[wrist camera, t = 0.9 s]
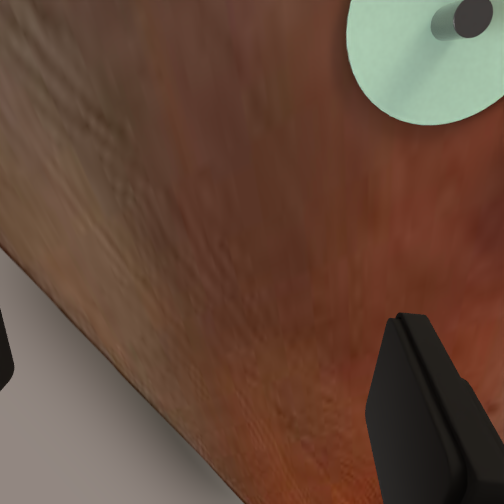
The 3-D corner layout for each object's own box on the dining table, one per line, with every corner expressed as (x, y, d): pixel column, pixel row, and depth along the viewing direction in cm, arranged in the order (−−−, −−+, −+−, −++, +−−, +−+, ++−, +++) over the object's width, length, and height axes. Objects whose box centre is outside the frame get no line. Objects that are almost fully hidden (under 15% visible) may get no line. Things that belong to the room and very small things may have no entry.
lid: (379, -119, 29) (401, -161, 24) (588, -75, 29) (658, -107, 24) (323, 104, 36) (330, 112, 31) (492, 139, 36) (528, 153, 31)
